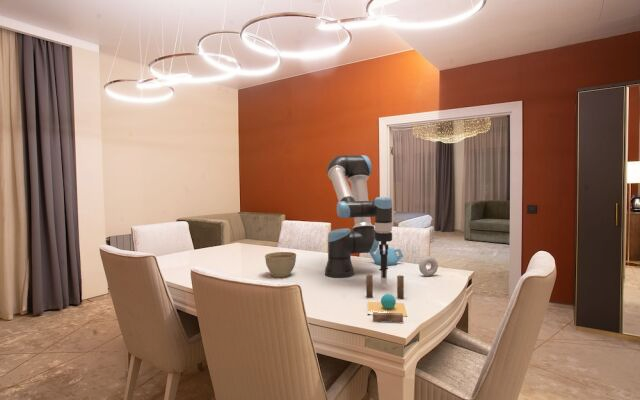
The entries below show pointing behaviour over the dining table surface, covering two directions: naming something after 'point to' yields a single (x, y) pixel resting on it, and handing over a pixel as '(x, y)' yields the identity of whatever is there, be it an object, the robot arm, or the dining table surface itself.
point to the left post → (369, 286)
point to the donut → (424, 262)
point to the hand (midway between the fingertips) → (383, 284)
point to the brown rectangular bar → (388, 317)
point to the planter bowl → (280, 263)
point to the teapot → (391, 256)
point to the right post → (400, 287)
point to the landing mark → (396, 309)
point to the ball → (388, 301)
